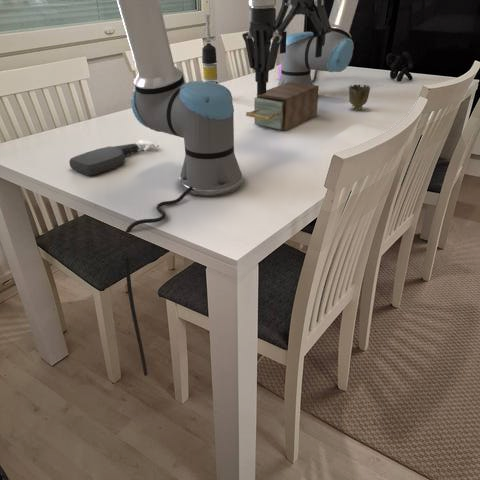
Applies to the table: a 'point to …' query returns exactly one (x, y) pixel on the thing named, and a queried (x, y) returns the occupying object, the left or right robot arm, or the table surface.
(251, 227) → the table surface
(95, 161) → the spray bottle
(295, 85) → the cabinet
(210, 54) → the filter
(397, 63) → the squiggle
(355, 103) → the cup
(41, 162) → the table surface
